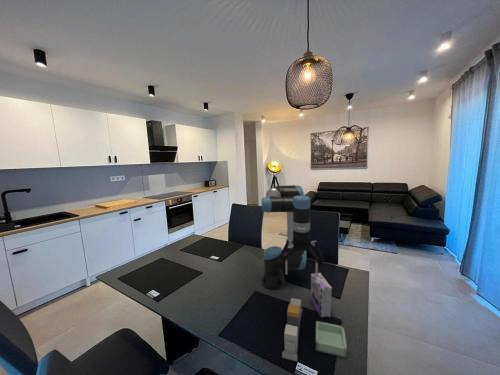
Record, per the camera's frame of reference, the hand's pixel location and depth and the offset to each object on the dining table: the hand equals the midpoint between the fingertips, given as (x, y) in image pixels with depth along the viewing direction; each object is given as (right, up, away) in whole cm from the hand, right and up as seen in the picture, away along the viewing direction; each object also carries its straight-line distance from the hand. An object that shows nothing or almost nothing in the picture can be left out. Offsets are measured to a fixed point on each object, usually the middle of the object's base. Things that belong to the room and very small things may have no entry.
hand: (301, 274), depth 97 cm
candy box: (+14, -25, +16) cm, 33 cm away
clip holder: (-3, -27, +1) cm, 28 cm away
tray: (+11, -28, -5) cm, 31 cm away
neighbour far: (-1, -26, +9) cm, 28 cm away
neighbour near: (-6, -29, -8) cm, 30 cm away
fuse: (-3, -27, +1) cm, 28 cm away
